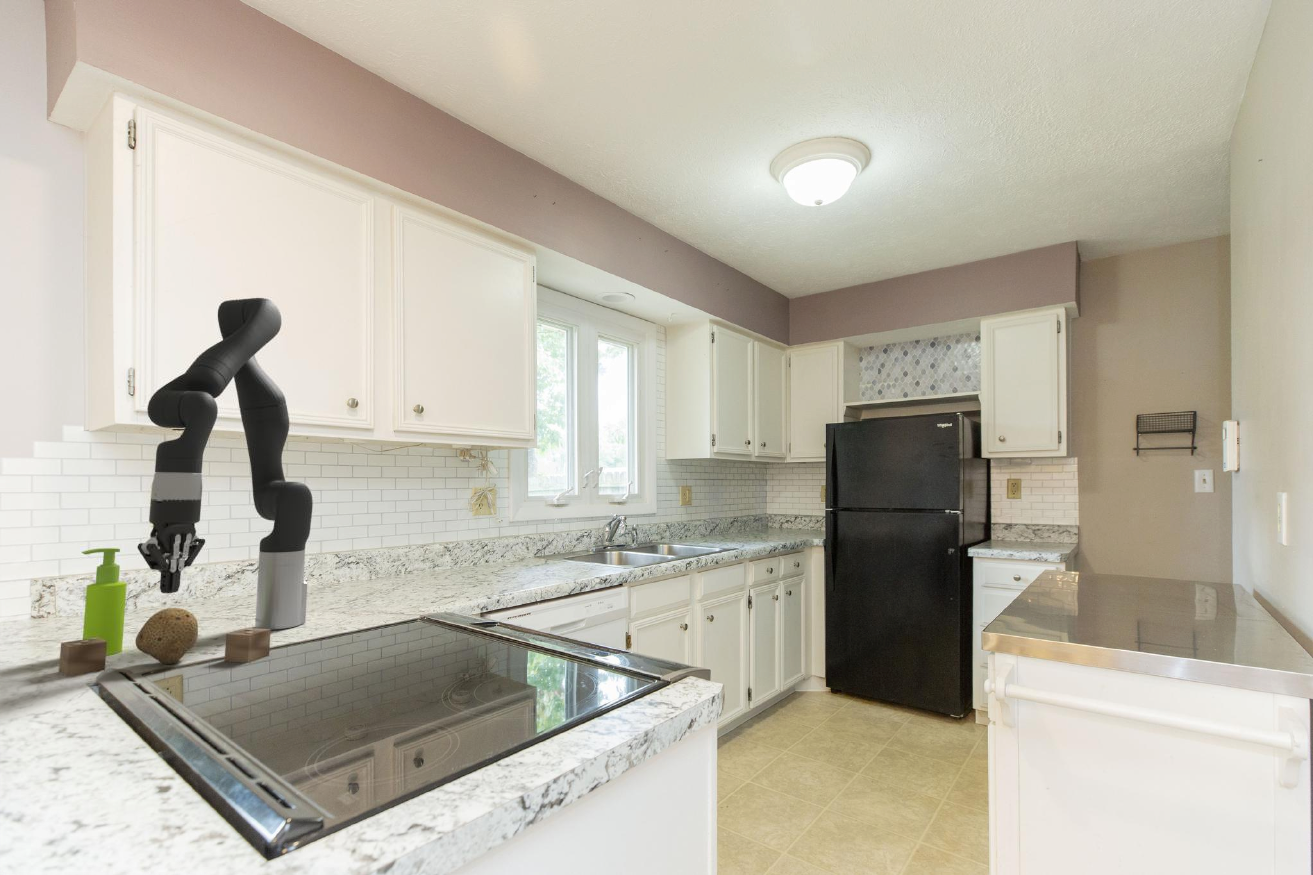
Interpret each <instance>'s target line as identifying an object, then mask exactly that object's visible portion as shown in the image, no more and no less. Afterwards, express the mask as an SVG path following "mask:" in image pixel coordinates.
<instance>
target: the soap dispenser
mask: <svg viewBox="0 0 1313 875" xmlns="http://www.w3.org/2000/svg"><path fill="white" fill-rule="evenodd" d="M120 552H121V549H120V548H117V547H116V548H115V547H114V548H113V547H108V548H107V547H106V548H105V547H103V548H92V549H88V550H84V551H81V553H82V554H83V555H91V554H98V553H103V557H102V558H103V560H102V564H100V565H98V566H96V571H95V572H96V574H95V575H96V576H95V582H94V583H91V584H87V585H86V590H85V591H86V592H85V605H84V617H83V632H82V640H84V639H89V638H97V637H99V638H101V639H103V640H105V641H107V648H106V657H107V656H112V655H115V654H116V655H117V654H119V653H121V652H122V651H123V643H124V642H123V639H124V628H125V627H124V626H125V625H124V624H125V613H126V600H127V597H126V596H127V585H128V583H127V582H125V581H119V579H120V569H121V568H120V566H121V565H120V564H117V563H115V560H116V553H120Z"/></svg>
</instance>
